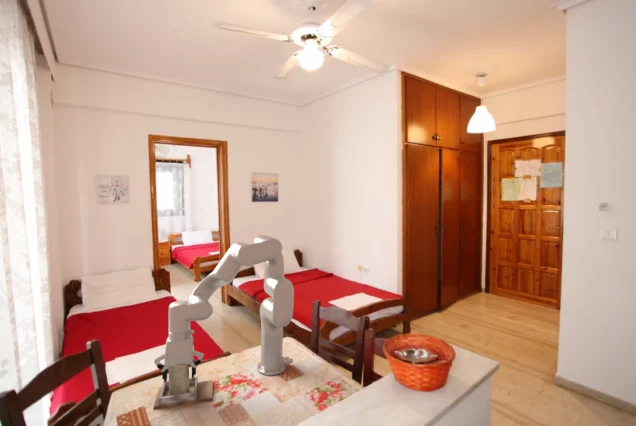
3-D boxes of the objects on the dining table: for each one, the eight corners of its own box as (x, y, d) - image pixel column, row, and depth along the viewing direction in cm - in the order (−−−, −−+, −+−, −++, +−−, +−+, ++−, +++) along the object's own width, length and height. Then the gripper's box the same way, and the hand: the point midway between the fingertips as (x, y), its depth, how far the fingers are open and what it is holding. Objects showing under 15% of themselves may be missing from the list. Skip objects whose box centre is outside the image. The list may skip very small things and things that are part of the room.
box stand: (212, 382, 135) (212, 374, 134) (212, 400, 123) (212, 391, 123) (159, 389, 129) (159, 381, 129) (153, 409, 117) (153, 399, 117)
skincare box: (189, 390, 127) (189, 359, 126) (184, 397, 123) (184, 365, 122) (174, 389, 128) (174, 358, 127) (168, 396, 123) (168, 364, 123)
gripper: (204, 328, 130) (203, 370, 131) (156, 332, 125) (156, 376, 126) (203, 336, 123) (203, 380, 124) (152, 341, 118) (152, 387, 119)
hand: (179, 378), depth 125 cm, fingers open, 9 cm apart
